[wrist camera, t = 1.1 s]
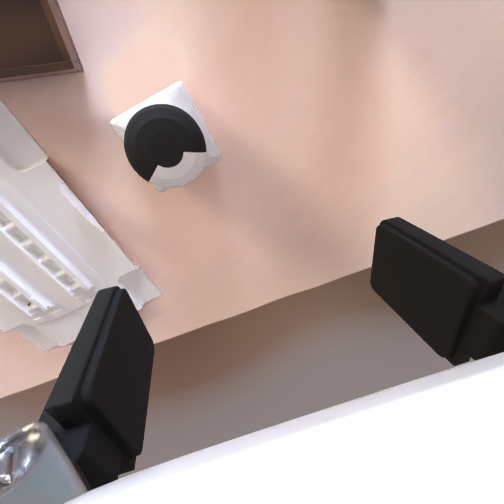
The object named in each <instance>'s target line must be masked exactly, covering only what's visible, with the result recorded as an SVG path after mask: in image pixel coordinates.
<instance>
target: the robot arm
mask: <svg viewBox="0 0 504 504" xmlns="http://www.w3.org/2000/svg"><path fill="white" fill-rule="evenodd" d="M371 272H372V273H371V281H370V282H371V286H372V288H373V290H374V291H375V292H376V293H377V294H378V295H379V296H380V297H381V298H382V299H383V300H384V301H385V302H386V303H387V304H388V305H389V306H390V307H391V308H392V309H393V310H394V311H395V312H396V313H397V314H398V315H399V316H400V317H401V318H402V319H403V320H404V321H405V322H406V323H407V324H408V325H409V326H410V327H411V328H412V329H413V330H414V331H415V332H416V333H417V334H418V335H419V336H420V337H421V338H422V339H423V340H424V341H425V342H426V343H427V344H428V345H429V346H430V347H431V348H432V349H433V350H434V351H435V352H436V353H437V354H438V355H440V356H441V357H445V358H446V359H447V360H448V361H450V363H451V364H452V365H454V366H456V365H459V364H462V363H465V362H468V361H469V359H470V357H471V358H473V359H474V360H475V361H473V362H470V363H467V364H464V365H461V366H457V367H454V368H451V369H448V370H445V371H442V372H438V373H435V374H432V375H429V376H426V377H423V378H420V379H416V380H414V381H410V382H407V383H404V384H401V385H398V386H395V387H392V388H388V389H386V390H382V391H379V392H376V393H373V394H370V395H367V396H364V397H361V398H358V399H355V400H352V401H349V402H346V403H342V404H339V405H336V406H333V407H330V408H327V409H324V410H321V411H318V412H315V413H312V414H309V415H305V416H302V417H299V418H297V419H293V420H290V421H287V422H284V423H281V424H278V425H275V426H272V427H269V428H266V429H263V430H260V431H257V432H254V433H251V434H248V435H245V436H242V437H239V438H236V439H233V440H230V441H227V442H224V443H221V444H218V445H215V446H212V447H209V448H206V449H203V450H200V451H196V452H194V453H191V454H188V455H185V456H182V457H179V458H176V459H174V460H171V461H168V462H165V463H162V464H159V465H156V466H154V467H151V468H148V469H145V470H142V471H139V472H137V473H134V474H131V475H128V476H125V477H123V478H120V479H118V475H120V474H122V473H126V472H129V471H132V470H134V469H135V461H136V456H138V455H140V454H141V452H142V448H143V440H144V431H145V423H146V415H147V407H148V406H147V405H148V398H149V390H150V381H151V373H152V365H153V356H154V344H153V341H152V338H151V337H150V335H149V333H148V331H147V329H146V327H145V325H144V323H143V321H142V319H141V317H140V315H139V313H138V311H137V309H136V307H135V305H134V303H133V301H132V300H131V298H130V296H129V294H128V292H127V290H126V289H124V288H123V289H120V287H119V286H113V287H109V288H105V289H101V290H98V292H97V294H96V296H95V298H94V300H93V303H92V305H91V307H90V309H89V311H88V314H87V316H86V318H85V320H84V322H83V325H82V327H81V329H80V331H79V333H78V336H77V338H76V340H75V342H74V344H73V346H72V348H71V351H70V353H69V355H68V357H67V359H66V362H65V364H64V366H63V368H62V370H61V373H60V375H59V377H58V379H57V381H56V384H55V386H54V388H53V390H52V392H51V395H50V397H49V399H48V401H47V403H46V406H45V408H44V410H43V412H42V414H41V417H40V419H39V421H35V422H30V423H26V424H24V425H22V426H20V427H18V428H16V429H14V430H13V431H11V432H10V433H9V434H7V435H5V436H4V437H3V438H2V439H0V504H504V274H503V273H501V272H499V271H498V270H496V269H494V268H492V267H490V266H489V265H487V264H485V263H483V262H481V261H479V260H477V259H476V258H474V257H472V256H470V255H468V254H466V253H465V252H462V251H461V250H459V249H457V248H455V247H453V246H451V245H450V244H448V243H446V242H444V241H442V240H441V239H439V238H437V237H435V236H433V235H431V234H429V233H428V232H426V231H424V230H422V229H420V228H418V227H416V226H415V225H413V224H411V223H409V222H407V221H405V220H404V219H402V218H399V217H395V218H391V219H387V220H383V221H382V222H381V223H380V225H379V226H378V227H377V229H376V236H375V245H374V254H373V263H372V271H371Z"/></svg>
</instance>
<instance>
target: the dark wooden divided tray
mask: <svg viewBox="0 0 504 504" xmlns="http://www.w3.org/2000/svg"><path fill="white" fill-rule="evenodd" d="M76 72H84V70H83V67H82V64H81V62H80V59H79V57H78V54H77V51H76V49H75V46H74V44H73V41H72V38H71V36H70V33H69V31H68V28H67V25H66V23H65V20H64V18H63V15H62V12H61V10H60V7H59V5H58V2H57V0H0V83H3V82H10V81H18V80H25V79H32V78H40V77H47V76H54V75H62V74H69V73H76Z"/></svg>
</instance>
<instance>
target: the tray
mask: <svg viewBox="0 0 504 504" xmlns="http://www.w3.org/2000/svg"><path fill="white" fill-rule="evenodd" d="M47 159H48V156H47V155H46V154H45V152H43V150H42V149H41V148H40V146H39V145H38V144H37V143H36V142H35V140H34V139H33V138H32V137H31V136H30V135H29V133H28V132H27V131H26V130H25V128H24V127H23V126H22V125H21V124H20V122H19V121H18V120H17V119H16V118H15V116H14V115H13V114H12V113H11V112H10V110H9V109H8V108H7V107H6V106H5V104H4V103H3V102H2V101H1V100H0V329H1V330H2V331H4V332H8V331H10V330H13V331H15V332H16V333H18V334H19V335H20V336H22V337H23V338H25V339H26V340H28V341H29V342H31V343H32V344H33V345H35V346H36V347H38V348H39V349H41V350H42V351H43V352H45V351H47V350H49V349H51V348H53V347H55V346H57V345H59V346H61V347H63V346H65V345H67V344H69V343H71V342H73V341H75V340H76V338H77V336H78V333H79V331H80V329H81V327H82V325H83V322H84V320H85V318H86V316H87V314H88V311H89V309H90V307H91V305H92V303H93V300H94V298H95V296H96V294H97V292H98V290H101V289H105V288H109V287H113V286H119V287H120V289H123V288H124V289H126V290H127V292H128V294H129V296H130V298H131V300H132V301H133V303H134V305H135V307H136V309H137V311H138V310H140V309H141V308H142V307H143V304H144V303H146V302H148V301H150V300H152V299H155V298H157V297H159V296H161V295H162V294H161V292H160V291H159V290H158V289H157V287H156V286H155V285H154V284H153V283H152V281H151V280H150V279H149V278H148V276H147V275H146V274H145V273H144V272H143V270H142V269H141V268H140V267H137V268H136V267H135V266H134V265H133V264H132V262H131V261H130V260H129V259H128V257H127V256H126V255H125V254H124V253H123V252H122V250H121V249H120V248H119V247H118V246H117V244H116V243H115V242H114V241H113V240H112V239H111V237H110V236H109V235H108V234H107V233H106V231H105V230H104V229H103V228H102V227H101V226H100V224H99V223H98V222H97V221H96V220H95V218H94V217H93V216H92V215H91V214H90V212H89V211H88V210H87V209H86V208H85V207H84V205H83V204H82V203H81V202H80V201H79V199H78V198H77V197H76V196H75V195H74V193H73V192H72V191H71V190H70V189H69V187H68V186H67V185H66V184H65V183H64V182H63V180H62V179H60V177H59V176H58V175H57V173H56V172H55V171H54V170H53V169H52V167H51V166H50V165H49V164H48V163H47V161H46V160H47ZM29 303H31V304H30V306H29V307H28V304H29ZM48 306H49V308H47V307H48ZM62 308H63V309H62Z"/></svg>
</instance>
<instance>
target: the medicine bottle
mask: <svg viewBox="0 0 504 504" xmlns="http://www.w3.org/2000/svg"><path fill="white" fill-rule="evenodd" d="M110 124H111V126H112V128H113V129H114V131H115V132H116V133H117V135H118V136H119V138H120V139H121V140H122V142H123V143H124V148H125V152H126V156H127V158H128V161H129V162H130V164H131V166H132V167H133V169H134V170H135V171H136V172H137V173H138V174H139V175H140V176H141V177H142V178H143V179H145V180H146V181H148V182H150V183H152V184H153V185H154V186H155V188H156V189H157V191H158V192H164V191H165V190H167V189H169V188H175V187H180V186H183V185H186V184H188V183H190V182H191V181H192V180H194V179H195V178H196V177H197V176H198V175H199V173H200V172H201V170H203V169H205V168H206V167H208V166H210V165H212V164H214V163H215V162H217V161H219V160H220V159H221V154H220V152H219V150H218V149H217V147H216V145H215V143H214V141H213V139H212V137H211V135H210V133H209V131H208V129H207V127H206V126H205V124H204V122H203V120H202V118H201V116H200V114H199V112H198V110H197V108H196V106H195V105H194V103H193V101H192V99H191V97H190V95H189V93H188V91H187V89H186V87H185V85H184V84H183V83H182V82H180V81H179V82H176V83H174V84H173V85H171V86H169V87H168V88H166V89H164V90H162V91H161V92H159V93H157V94H156V95H154V96H152V97H150V98H149V99H147V100H145V101H144V102H142V103H140V104H138V105H137V106H135V107H133V108H131V109H130V110H128V111H126V112H125V113H123V114H121V115H119V116H118V117H116V118H114V119H113V120H111V123H110Z"/></svg>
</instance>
